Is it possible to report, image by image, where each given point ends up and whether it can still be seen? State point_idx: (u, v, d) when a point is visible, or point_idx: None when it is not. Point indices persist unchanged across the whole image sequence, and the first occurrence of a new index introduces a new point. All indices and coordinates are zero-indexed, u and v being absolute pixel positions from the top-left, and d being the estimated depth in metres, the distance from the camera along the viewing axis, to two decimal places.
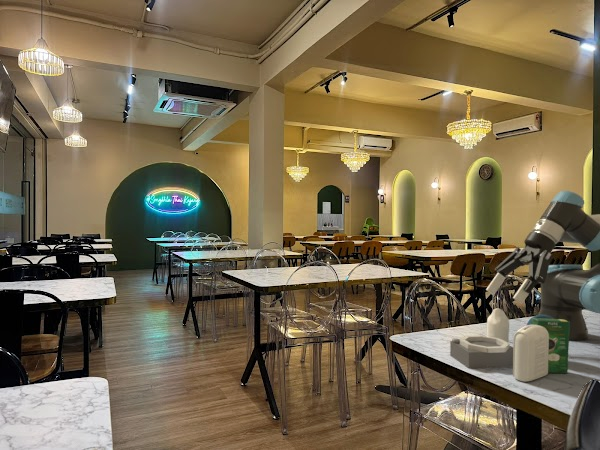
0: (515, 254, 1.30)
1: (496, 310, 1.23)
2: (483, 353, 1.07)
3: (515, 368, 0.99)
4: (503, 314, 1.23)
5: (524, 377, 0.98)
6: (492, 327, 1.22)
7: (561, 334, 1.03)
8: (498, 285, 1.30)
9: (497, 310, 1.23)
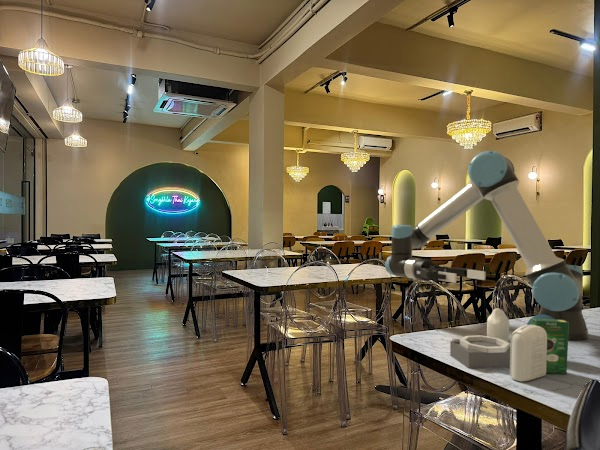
0: None
1: (496, 310, 1.23)
2: (483, 353, 1.07)
3: (512, 368, 1.00)
4: (503, 314, 1.23)
5: (520, 377, 0.98)
6: (492, 327, 1.22)
7: (560, 334, 1.03)
8: (475, 272, 1.38)
9: (497, 310, 1.23)
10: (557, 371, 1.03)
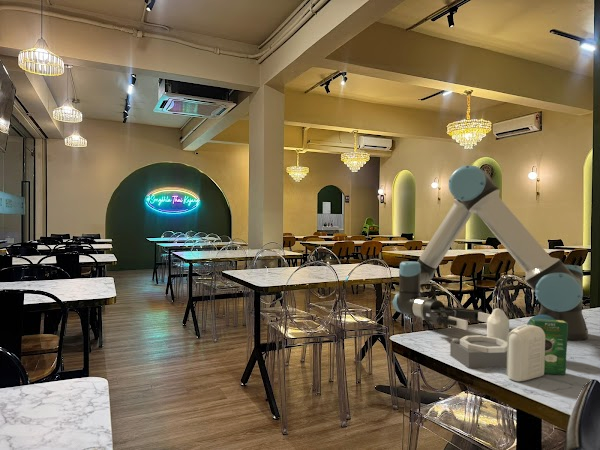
0: None
1: (496, 310, 1.23)
2: (483, 353, 1.07)
3: (508, 368, 1.00)
4: (503, 314, 1.23)
5: (516, 377, 0.98)
6: (492, 327, 1.22)
7: (559, 335, 1.02)
8: (486, 315, 1.34)
9: (497, 310, 1.23)
10: (556, 372, 1.03)
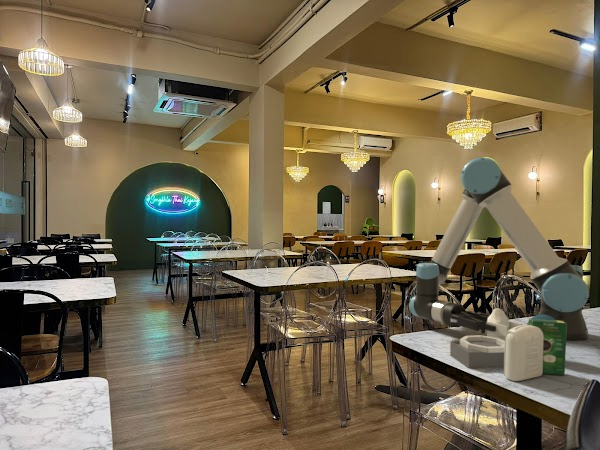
0: None
1: (496, 310, 1.23)
2: (483, 353, 1.07)
3: (506, 367, 1.00)
4: (503, 314, 1.23)
5: (513, 377, 0.98)
6: None
7: (558, 335, 1.02)
8: (510, 323, 1.23)
9: (497, 310, 1.23)
10: (554, 372, 1.02)
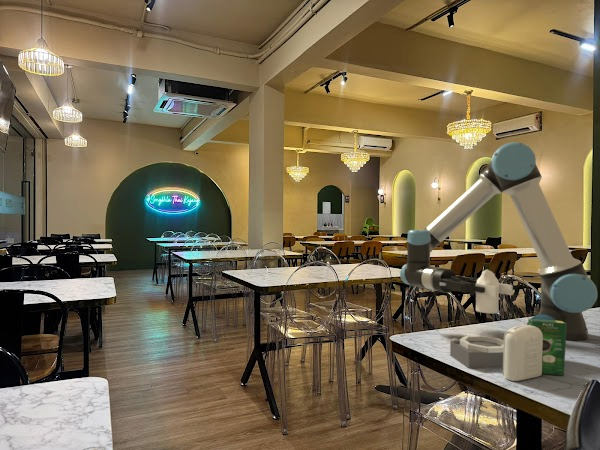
0: None
1: (485, 271, 1.19)
2: (483, 353, 1.07)
3: (504, 367, 1.00)
4: (493, 276, 1.19)
5: (512, 377, 0.98)
6: None
7: (557, 335, 1.02)
8: (500, 285, 1.19)
9: (486, 271, 1.19)
10: (554, 372, 1.02)
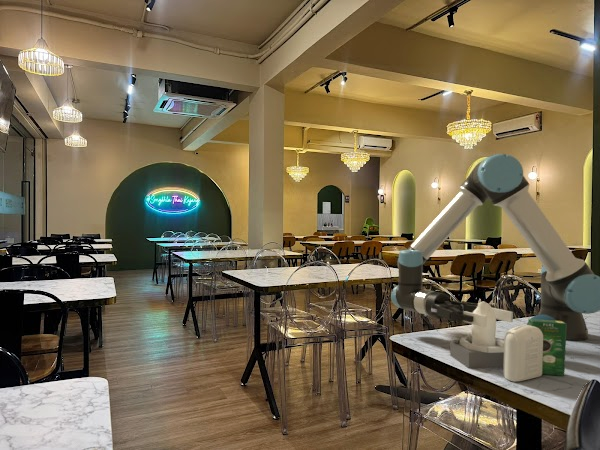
0: None
1: (481, 303, 1.12)
2: (483, 353, 1.07)
3: (505, 368, 1.00)
4: (490, 308, 1.12)
5: (513, 377, 0.98)
6: None
7: (557, 335, 1.02)
8: (499, 311, 1.14)
9: (483, 303, 1.12)
10: (554, 372, 1.02)
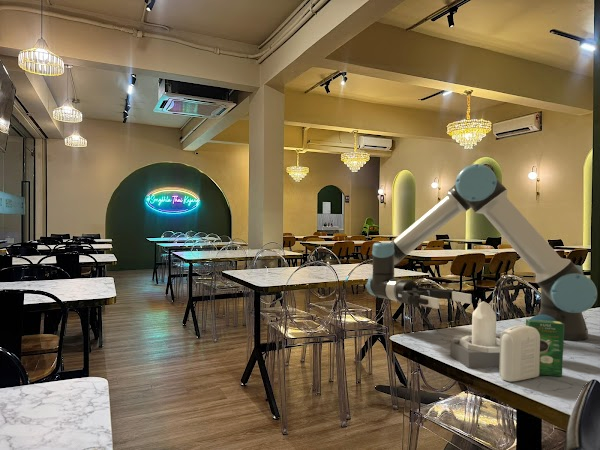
0: None
1: (482, 304, 1.12)
2: (483, 353, 1.07)
3: (501, 368, 1.00)
4: (490, 308, 1.12)
5: (508, 377, 0.98)
6: (477, 322, 1.11)
7: (555, 336, 1.01)
8: (460, 294, 1.28)
9: (483, 304, 1.12)
10: (552, 373, 1.02)
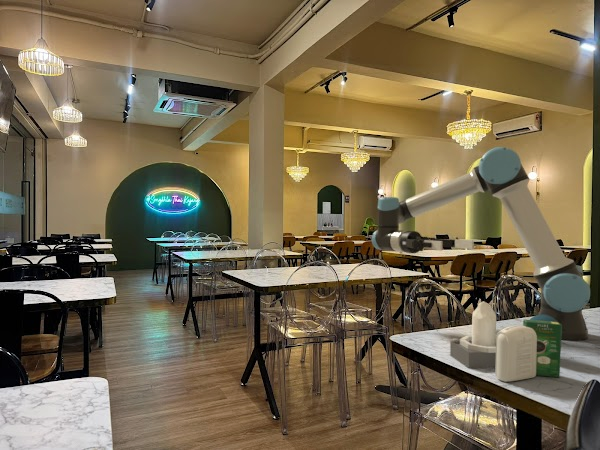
0: None
1: (482, 304, 1.12)
2: (483, 353, 1.07)
3: (497, 368, 1.00)
4: (490, 308, 1.12)
5: (504, 377, 0.98)
6: (477, 322, 1.11)
7: (552, 337, 1.01)
8: (463, 241, 1.32)
9: (483, 304, 1.12)
10: (549, 374, 1.01)
